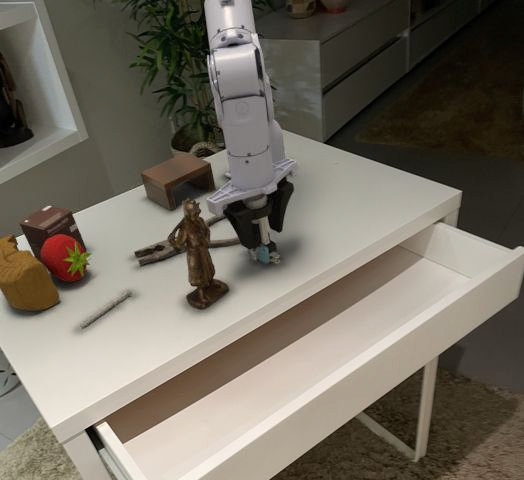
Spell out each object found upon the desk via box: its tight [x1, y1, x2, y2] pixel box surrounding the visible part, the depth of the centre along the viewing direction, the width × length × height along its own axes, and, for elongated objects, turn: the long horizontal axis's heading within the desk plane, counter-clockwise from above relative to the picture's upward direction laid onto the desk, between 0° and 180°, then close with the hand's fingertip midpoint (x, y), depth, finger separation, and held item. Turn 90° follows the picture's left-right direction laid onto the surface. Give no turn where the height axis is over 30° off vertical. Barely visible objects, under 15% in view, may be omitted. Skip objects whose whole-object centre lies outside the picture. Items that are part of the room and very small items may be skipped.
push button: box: [243, 193, 282, 265], centre depth 81 cm, size 7×5×10 cm
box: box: [18, 205, 87, 264], centre depth 90 cm, size 6×6×7 cm
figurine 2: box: [0, 233, 60, 312], centre depth 84 cm, size 7×7×15 cm
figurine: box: [166, 197, 230, 310], centre depth 73 cm, size 7×4×15 cm, turn 137°
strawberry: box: [41, 234, 93, 283], centre depth 84 cm, size 6×8×10 cm
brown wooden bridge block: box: [140, 151, 216, 211], centre depth 102 cm, size 10×8×5 cm
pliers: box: [133, 213, 240, 266], centre depth 89 cm, size 10×1×20 cm
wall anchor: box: [79, 289, 132, 329], centre depth 79 cm, size 1×9×1 cm
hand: (261, 238), depth 82 cm, fingers closed on push button, 5 cm apart
